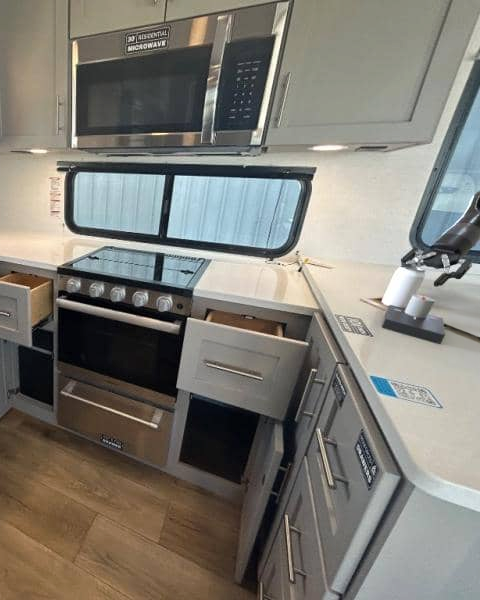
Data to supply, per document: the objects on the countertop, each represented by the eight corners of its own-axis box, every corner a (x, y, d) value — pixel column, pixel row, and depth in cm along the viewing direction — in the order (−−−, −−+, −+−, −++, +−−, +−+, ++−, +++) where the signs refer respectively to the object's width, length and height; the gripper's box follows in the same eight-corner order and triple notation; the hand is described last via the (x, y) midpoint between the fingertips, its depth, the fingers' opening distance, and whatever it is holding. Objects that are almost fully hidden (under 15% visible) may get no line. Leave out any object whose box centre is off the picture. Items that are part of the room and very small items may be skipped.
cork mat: (389, 299, 107) (390, 298, 107) (431, 315, 96) (432, 314, 96) (359, 300, 105) (360, 298, 105) (398, 316, 94) (399, 314, 94)
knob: (405, 309, 92) (414, 292, 90) (427, 315, 89) (436, 297, 87) (403, 313, 90) (412, 295, 88) (425, 319, 87) (434, 301, 84)
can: (405, 311, 97) (425, 273, 92) (378, 303, 101) (395, 266, 97) (411, 307, 100) (429, 270, 95) (384, 300, 105) (400, 263, 100)
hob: (386, 312, 97) (390, 303, 96) (438, 325, 90) (443, 317, 89) (381, 327, 87) (385, 318, 85) (440, 344, 80) (445, 334, 79)
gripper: (425, 228, 103) (388, 265, 104) (490, 238, 91) (447, 280, 92) (427, 244, 107) (391, 279, 108) (489, 256, 95) (448, 296, 96)
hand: (417, 280), depth 100 cm, fingers open, 8 cm apart
